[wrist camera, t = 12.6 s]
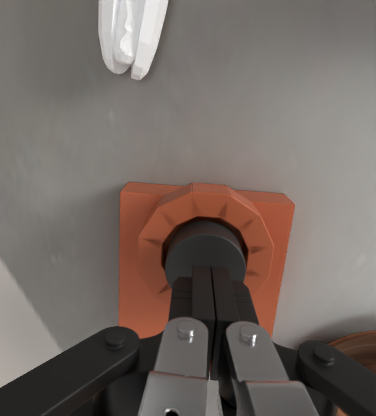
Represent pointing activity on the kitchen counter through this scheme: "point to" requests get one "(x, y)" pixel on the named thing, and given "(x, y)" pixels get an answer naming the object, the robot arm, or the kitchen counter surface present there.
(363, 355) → the cup and saucer
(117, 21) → the sub sandwich
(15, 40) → the kitchen counter surface
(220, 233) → the lamp switch
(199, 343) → the robot arm
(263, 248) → the switch block
